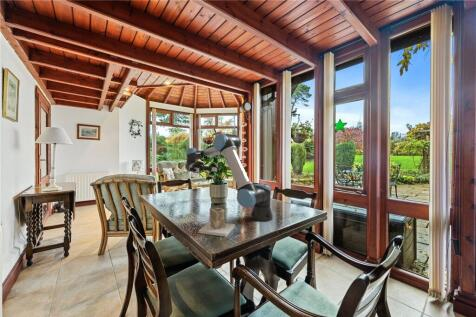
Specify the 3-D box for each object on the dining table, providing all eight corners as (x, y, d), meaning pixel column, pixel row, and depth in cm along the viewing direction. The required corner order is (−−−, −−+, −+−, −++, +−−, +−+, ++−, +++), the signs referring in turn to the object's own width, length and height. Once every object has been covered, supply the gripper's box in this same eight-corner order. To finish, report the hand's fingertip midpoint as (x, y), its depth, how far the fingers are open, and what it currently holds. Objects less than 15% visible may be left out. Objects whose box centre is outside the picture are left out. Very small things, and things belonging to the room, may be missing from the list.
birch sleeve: (219, 224, 127) (220, 207, 127) (224, 227, 122) (225, 210, 122) (210, 226, 124) (210, 209, 123) (215, 229, 119) (215, 211, 118)
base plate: (235, 226, 128) (235, 218, 128) (226, 236, 113) (226, 227, 113) (210, 223, 133) (210, 215, 133) (198, 232, 117) (198, 223, 117)
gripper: (210, 172, 174) (223, 174, 157) (180, 173, 160) (190, 176, 143) (210, 162, 174) (223, 164, 156) (180, 163, 160) (190, 165, 142)
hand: (207, 170), depth 149 cm, fingers open, 13 cm apart
